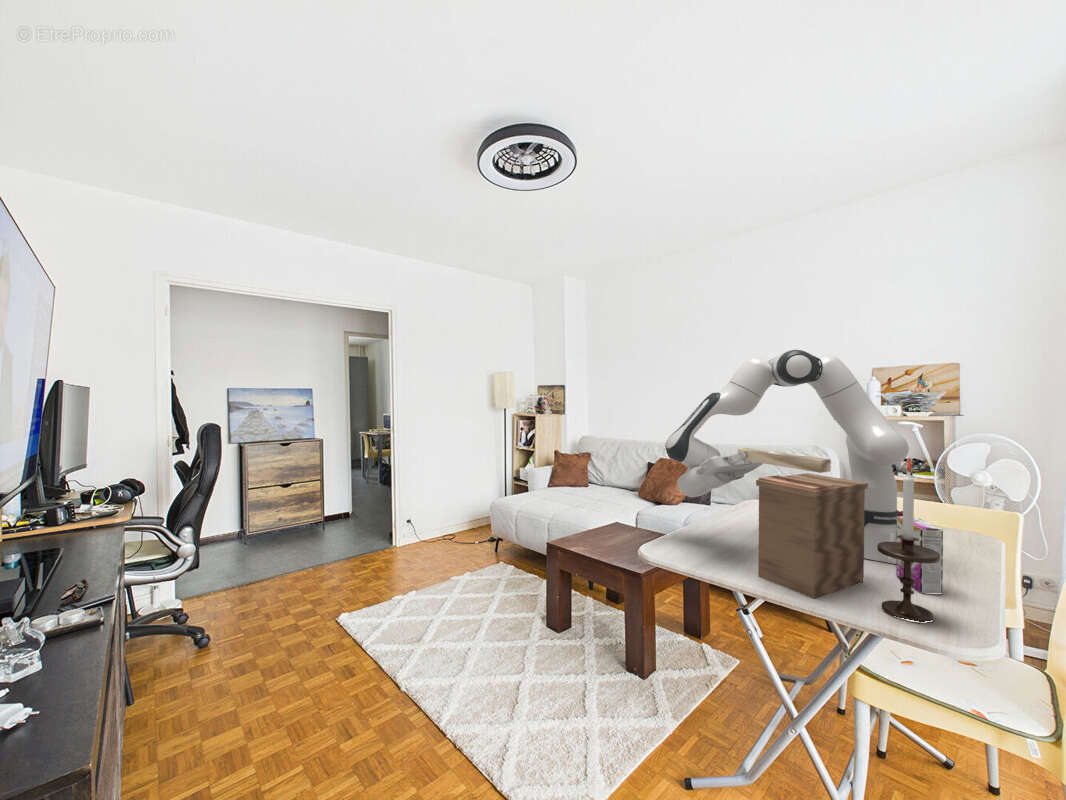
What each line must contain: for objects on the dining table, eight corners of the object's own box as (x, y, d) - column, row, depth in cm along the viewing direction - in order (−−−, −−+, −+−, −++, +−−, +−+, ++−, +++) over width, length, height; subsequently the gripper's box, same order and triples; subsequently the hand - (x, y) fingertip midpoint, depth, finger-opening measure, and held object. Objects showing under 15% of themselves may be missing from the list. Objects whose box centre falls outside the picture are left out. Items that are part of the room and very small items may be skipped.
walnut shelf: (806, 562, 135) (807, 471, 134) (866, 582, 120) (867, 481, 120) (755, 576, 125) (756, 478, 124) (814, 600, 111) (815, 489, 110)
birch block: (747, 458, 136) (747, 447, 136) (830, 471, 114) (830, 458, 114) (737, 459, 134) (737, 448, 134) (820, 472, 113) (820, 459, 113)
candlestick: (885, 598, 111) (887, 453, 111) (944, 615, 103) (947, 458, 102) (869, 611, 105) (871, 457, 104) (931, 631, 96) (933, 463, 95)
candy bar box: (894, 576, 125) (895, 515, 124) (915, 577, 124) (916, 516, 123) (920, 594, 114) (921, 527, 113) (943, 596, 113) (944, 528, 112)
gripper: (689, 463, 140) (721, 445, 129) (736, 459, 149) (770, 441, 138) (697, 483, 137) (731, 466, 126) (744, 477, 146) (780, 461, 135)
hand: (752, 453), depth 132 cm, fingers closed on birch block, 4 cm apart
